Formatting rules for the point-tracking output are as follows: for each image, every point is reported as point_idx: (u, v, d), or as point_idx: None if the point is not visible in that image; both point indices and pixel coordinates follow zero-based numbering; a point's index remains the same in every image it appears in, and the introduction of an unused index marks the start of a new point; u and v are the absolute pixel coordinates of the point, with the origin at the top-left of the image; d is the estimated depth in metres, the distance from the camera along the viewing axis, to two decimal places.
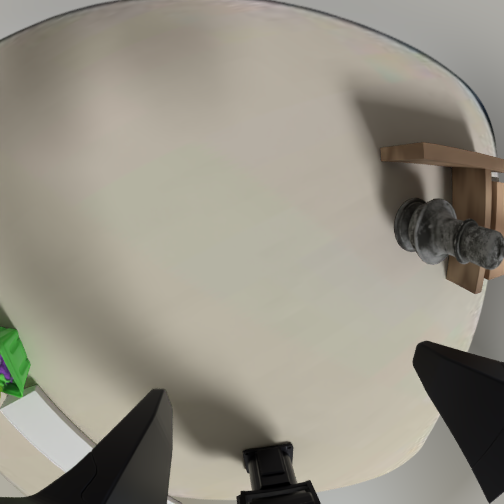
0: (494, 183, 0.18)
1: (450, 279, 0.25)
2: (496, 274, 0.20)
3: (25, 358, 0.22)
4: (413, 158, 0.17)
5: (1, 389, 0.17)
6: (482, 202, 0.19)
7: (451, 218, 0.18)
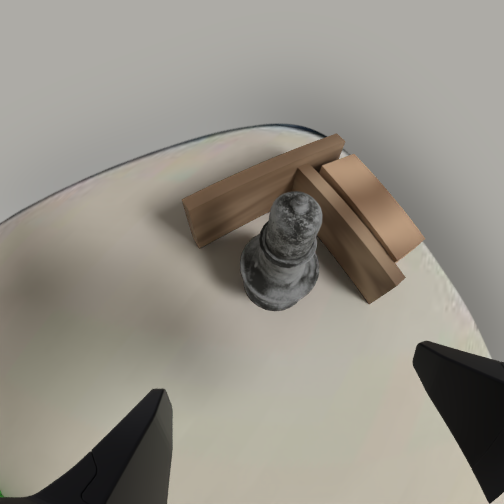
0: (322, 169, 0.22)
1: (371, 300, 0.22)
2: (408, 246, 0.19)
3: None
4: (191, 220, 0.20)
5: None
6: (320, 197, 0.22)
7: None
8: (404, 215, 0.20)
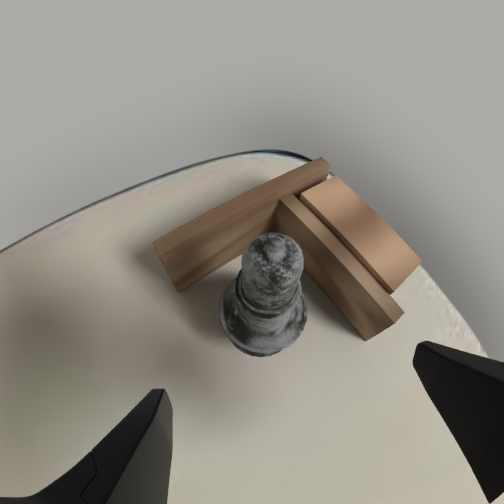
0: (301, 198, 0.21)
1: (368, 337, 0.20)
2: (404, 274, 0.17)
3: None
4: (165, 264, 0.18)
5: None
6: (306, 230, 0.20)
7: None
8: (397, 238, 0.19)
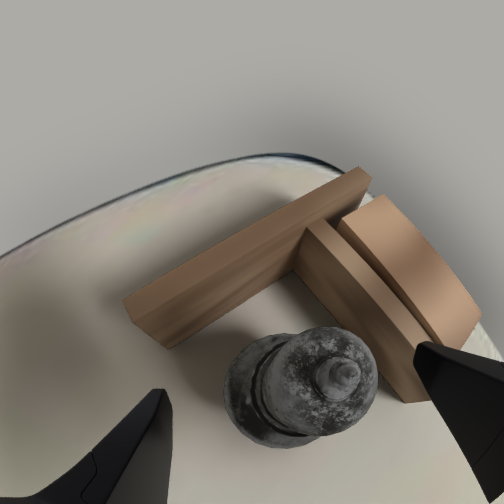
0: (342, 224, 0.15)
1: (409, 401, 0.13)
2: (465, 333, 0.11)
3: None
4: (143, 328, 0.12)
5: None
6: (344, 275, 0.14)
7: None
8: (457, 284, 0.12)
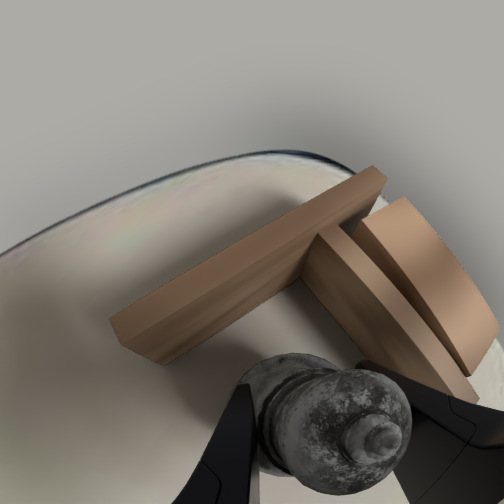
0: (361, 226, 0.13)
1: None
2: (483, 348, 0.09)
3: None
4: (134, 349, 0.10)
5: None
6: (360, 287, 0.12)
7: None
8: (478, 296, 0.11)
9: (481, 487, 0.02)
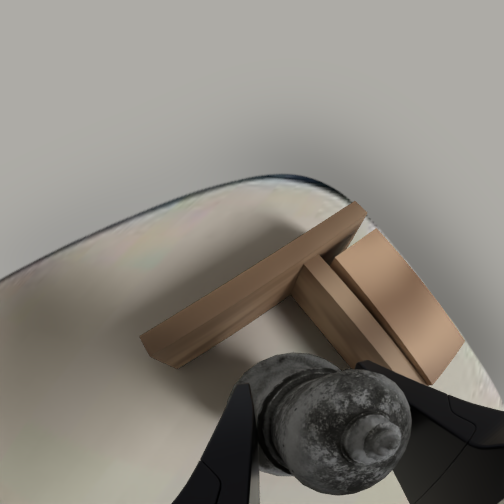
0: (335, 262, 0.16)
1: None
2: (445, 360, 0.12)
3: None
4: (158, 358, 0.13)
5: None
6: (337, 308, 0.15)
7: None
8: (442, 315, 0.14)
9: (481, 487, 0.02)
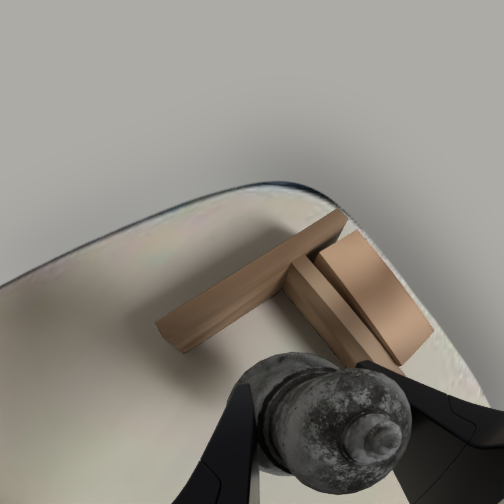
0: (319, 256, 0.19)
1: None
2: (415, 346, 0.16)
3: None
4: (169, 341, 0.17)
5: None
6: (319, 300, 0.18)
7: None
8: (413, 306, 0.17)
9: (481, 487, 0.02)
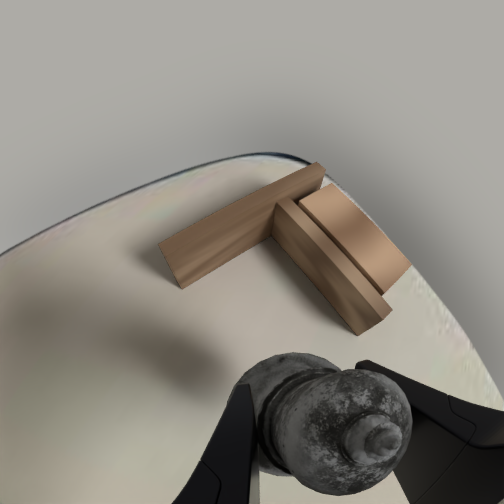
0: (300, 204, 0.22)
1: (359, 332, 0.21)
2: (394, 276, 0.19)
3: None
4: (170, 264, 0.20)
5: None
6: (301, 232, 0.22)
7: None
8: (388, 243, 0.20)
9: (481, 487, 0.02)
